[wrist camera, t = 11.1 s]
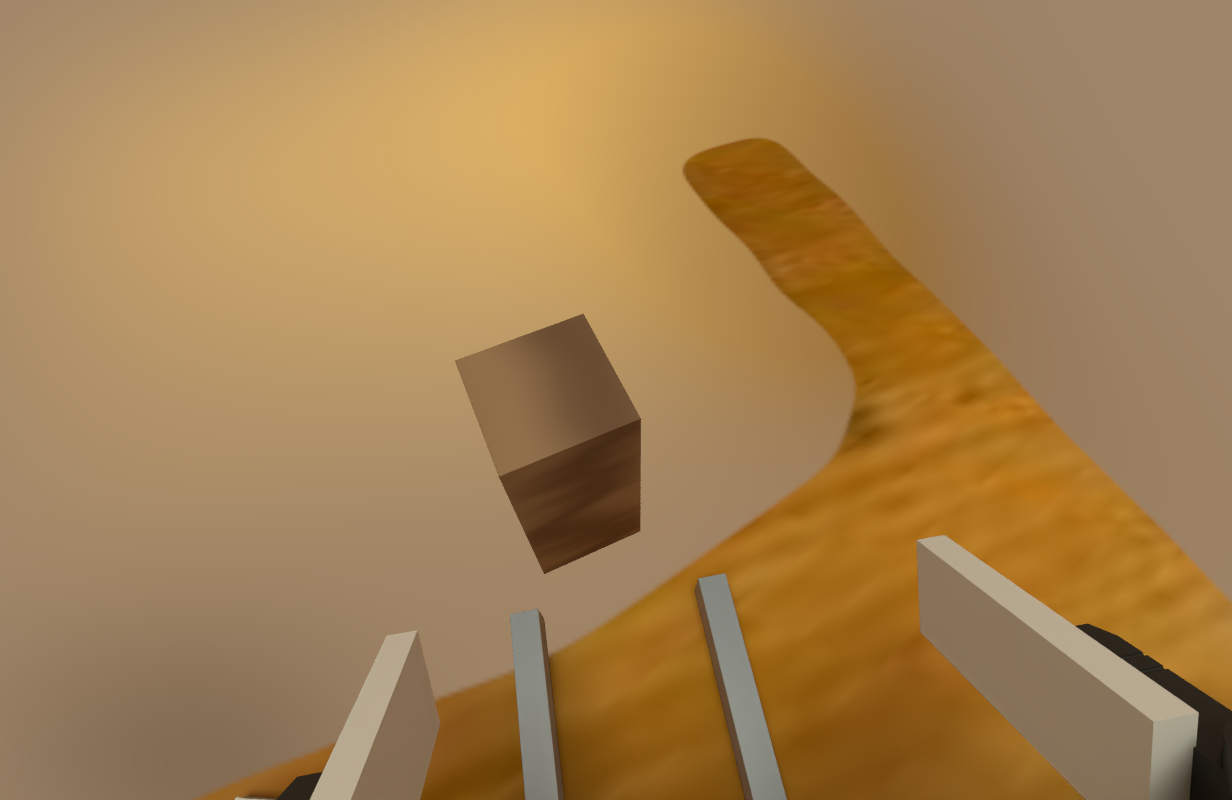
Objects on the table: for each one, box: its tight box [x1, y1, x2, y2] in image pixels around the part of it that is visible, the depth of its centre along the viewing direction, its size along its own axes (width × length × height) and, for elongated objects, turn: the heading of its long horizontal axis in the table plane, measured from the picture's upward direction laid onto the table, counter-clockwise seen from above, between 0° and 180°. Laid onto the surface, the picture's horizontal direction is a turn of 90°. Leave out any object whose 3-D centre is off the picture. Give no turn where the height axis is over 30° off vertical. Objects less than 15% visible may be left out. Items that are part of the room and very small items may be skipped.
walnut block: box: [455, 314, 641, 574], centre depth 26 cm, size 5×5×11 cm
